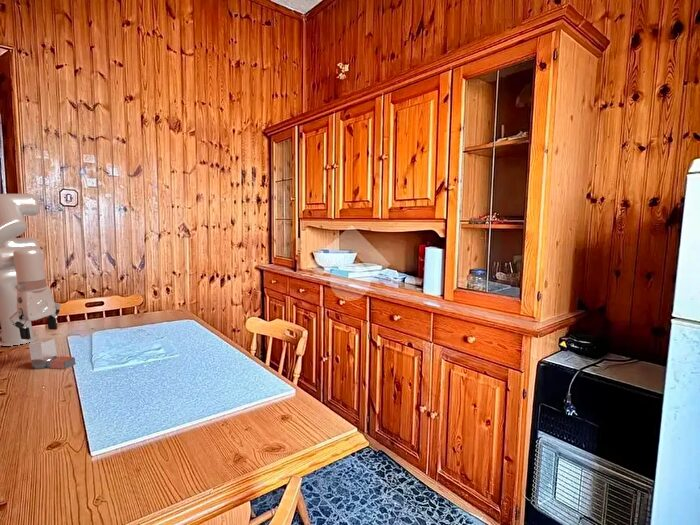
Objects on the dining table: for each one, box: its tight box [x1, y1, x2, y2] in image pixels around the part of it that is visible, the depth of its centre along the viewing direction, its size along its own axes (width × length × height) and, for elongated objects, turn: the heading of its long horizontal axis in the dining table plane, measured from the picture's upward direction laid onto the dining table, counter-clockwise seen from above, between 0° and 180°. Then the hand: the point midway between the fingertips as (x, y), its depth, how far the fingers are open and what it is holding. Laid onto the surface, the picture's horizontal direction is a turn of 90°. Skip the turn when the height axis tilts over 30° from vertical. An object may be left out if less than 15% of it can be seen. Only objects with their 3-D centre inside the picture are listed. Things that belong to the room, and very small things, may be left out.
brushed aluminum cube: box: [28, 337, 58, 361], centre depth 138 cm, size 5×5×6 cm
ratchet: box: [30, 354, 77, 370], centre depth 137 cm, size 14×7×6 cm, turn 78°
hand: (39, 333), depth 137 cm, fingers open, 9 cm apart
